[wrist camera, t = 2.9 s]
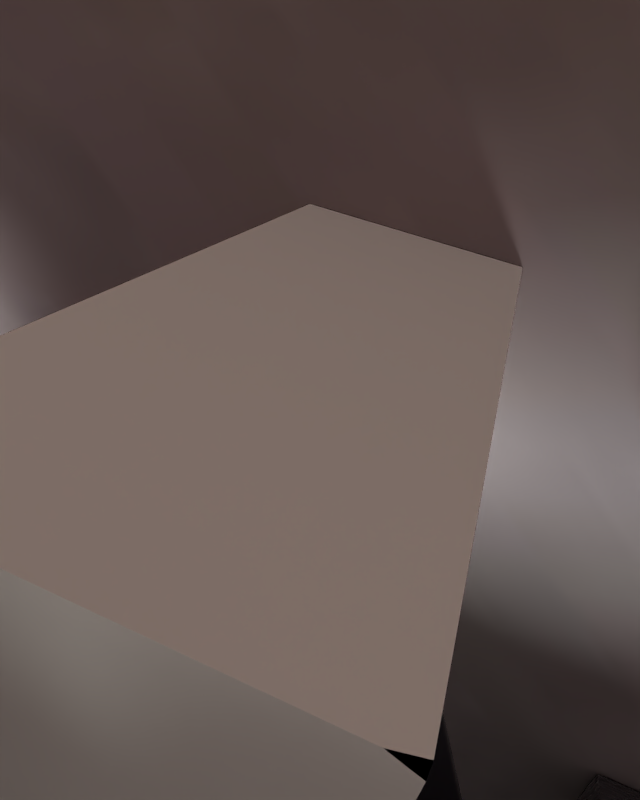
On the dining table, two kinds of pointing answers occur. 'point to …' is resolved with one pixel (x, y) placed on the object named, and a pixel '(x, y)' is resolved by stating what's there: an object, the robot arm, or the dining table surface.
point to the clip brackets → (608, 790)
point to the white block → (246, 517)
